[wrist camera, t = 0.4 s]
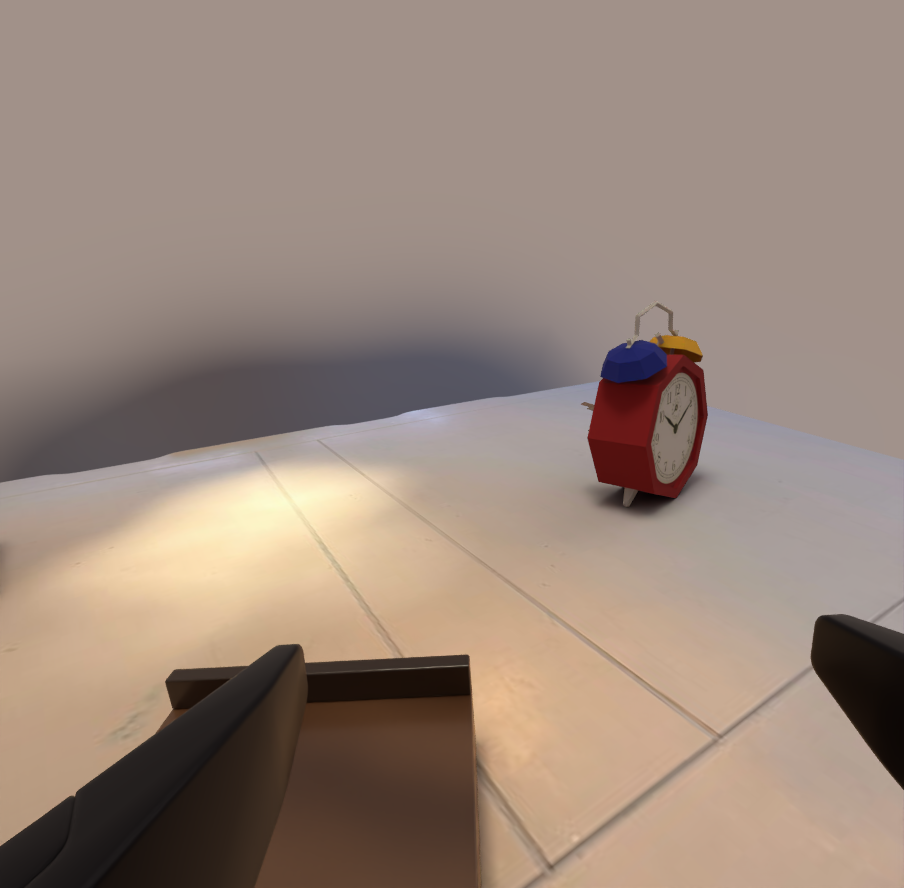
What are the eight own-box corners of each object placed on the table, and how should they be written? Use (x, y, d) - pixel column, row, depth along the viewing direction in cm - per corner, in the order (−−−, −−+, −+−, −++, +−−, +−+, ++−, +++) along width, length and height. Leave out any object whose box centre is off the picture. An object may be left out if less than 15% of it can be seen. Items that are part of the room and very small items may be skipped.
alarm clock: (645, 523, 45) (653, 301, 40) (566, 501, 51) (564, 307, 46) (705, 478, 54) (718, 295, 49) (632, 465, 61) (637, 301, 55)
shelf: (487, 1040, 14) (477, 917, 12) (20, 1051, 14) (-39, 934, 13) (475, 741, 23) (469, 653, 22) (196, 753, 24) (173, 668, 23)
